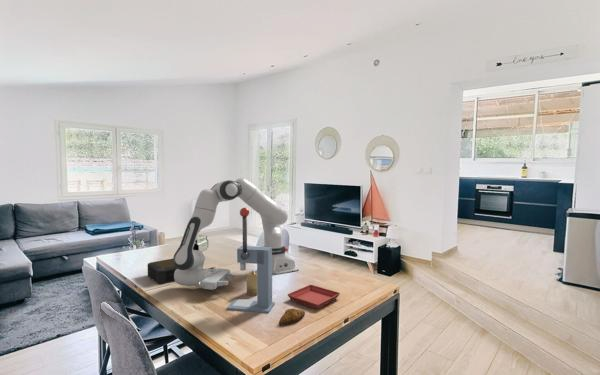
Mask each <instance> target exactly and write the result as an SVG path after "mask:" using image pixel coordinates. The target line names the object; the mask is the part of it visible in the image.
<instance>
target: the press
mask: <svg viewBox="0 0 600 375" xmlns="http://www.w3.org/2000/svg"><path fill="white" fill-rule="evenodd" d="M247 252H248V253H249V257H248V258H247V259H246V260H243V259H242V258H241V254H242V253H243V245H241V246H240V247H238V248H236V261H237V264H239V265H240V266H239V267H240V268H239V269H240V271H243V272H244V271H246V269H247V267H246V266H247V264H252V265H253V264H255V265H256V267H257V268H256V272H257V298H256V300H253V299H241V298H239V299H237V298H236V299H235V298H234V299H233V300H232V301H231V302H230V303H229V304H228V305H227V307H225V308H226V310H228V311H238V312H240V311H242V312H250V313H251V312H252V313H263V314H269V313H270V312H271V310H272V309H273V307H275V301H273V273H272V247H264V246H254V245H247Z"/></svg>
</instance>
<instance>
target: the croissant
mask: <svg viewBox="0 0 600 375" xmlns="http://www.w3.org/2000/svg"><path fill="white" fill-rule="evenodd" d="M305 315H306V312H305V310H303V309H296V308H287V310H285V312H284V313H283V315H282V316H281V317H280V319H279V320H278V324H279V325H280V326H287V325H290V324H292V323H296V322H298V321H299V320H301V319H302V318H304V316H305Z"/></svg>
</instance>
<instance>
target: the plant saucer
mask: <svg viewBox="0 0 600 375" xmlns="http://www.w3.org/2000/svg"><path fill="white" fill-rule="evenodd" d="M340 295H341V293H340V292H339V291H338V292H337V291H335V290H331V289H327V288H325V287H320V286H317V285H313V284H309V285H306V286H304V287H302V288H299V289H296V290H294V291H292V292H290V293H288V294H287V296H288V298H289V299H290V300H291V301H293V302H296V303H298V304H300V305H305V306H307V307H311V308H313V309H316V310H317V309H319V308H321V307H323V306H326V305H327V304H329V303H330V302H333V301H335V300H336V299H337V298H338V297H339V296H340Z"/></svg>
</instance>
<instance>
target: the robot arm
mask: <svg viewBox="0 0 600 375" xmlns="http://www.w3.org/2000/svg"><path fill="white" fill-rule="evenodd" d="M236 198H239V199H241V201H242V202H244V203H245V204H246V205H247V206H248V207H250V208H251V209H252V210H253V211H255V213H258V214H259V216H260V218H261V224H262V229H263V239H264V240H263V247H272V275H273V274H274V275H280V274H285V273H286V274H287V273H292V271H293V272H297V270H298V271H299V270H300V267H299V266H298V265H297V264H296V261H295V258H294V257H293V256H291V255H290V254H289V253H288V251H289V248H288V247H286V246H284V245H283V244H284V243H283V242H284V240H283V238H284V237H283V231H282V229H281V225H283V224H285V223H287V220H288V219H289V214H288V212H287V210H286V209H285V208H283V207H282V206H281V205H279V203H277V202H275V200H273V199H272V198H270V197H269V196H268V195H266V194H265V193H264V192H263V191H262V190H260V189H259V188H258V187H257V186H256V185H255V184H253V182H251V181H249V180H247V178H244V177H238V178H237V179H235V180H223V181H220V182H216V183H215V184H214V185H213V186H212V187H211V188H210V189H209V188H207V189H206V188H205V189H202V190H201V191H200V193H199V194H198V197H197V199H196V202H195V205H194V209H193V213H192V215H191V217H190V219H189V221H188V223H187V225H186V228H185V230H184V234H183V236H182V239H181V242H180V244H179V246H178V248H177V250H176V251H175V252H174V254H173V258H172V259H173V263H174V265H175V267H176V268H177V269H176V270H175V272H174V279H175V281H174V282H175V283H176V284H178V285H180V286H184V287H185V286H186V287H197V288H202V289H205V290H211V291H213V290H216V289H217V288H218V287H223V286H228V285H229V280H227V279H230V278H231V279H232V280H235V279H236V278H237V275H236V274H233V273H231V270H230V269H228V268H216V267H215V266H213V267H209V268H203V267H204V263H205V260H204V256H205V254H204V253H203V252H201V251H198V250H193V247H194V244H195V241H196V238H197V235H199V233H200V231H201V230H203V229H205V228H207V227H209V226H211V224H212V223H213V222H214V219H215V216H216V213H217V208H218V204H220V203H221V202H228V201H233V200H234V199H236Z"/></svg>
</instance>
